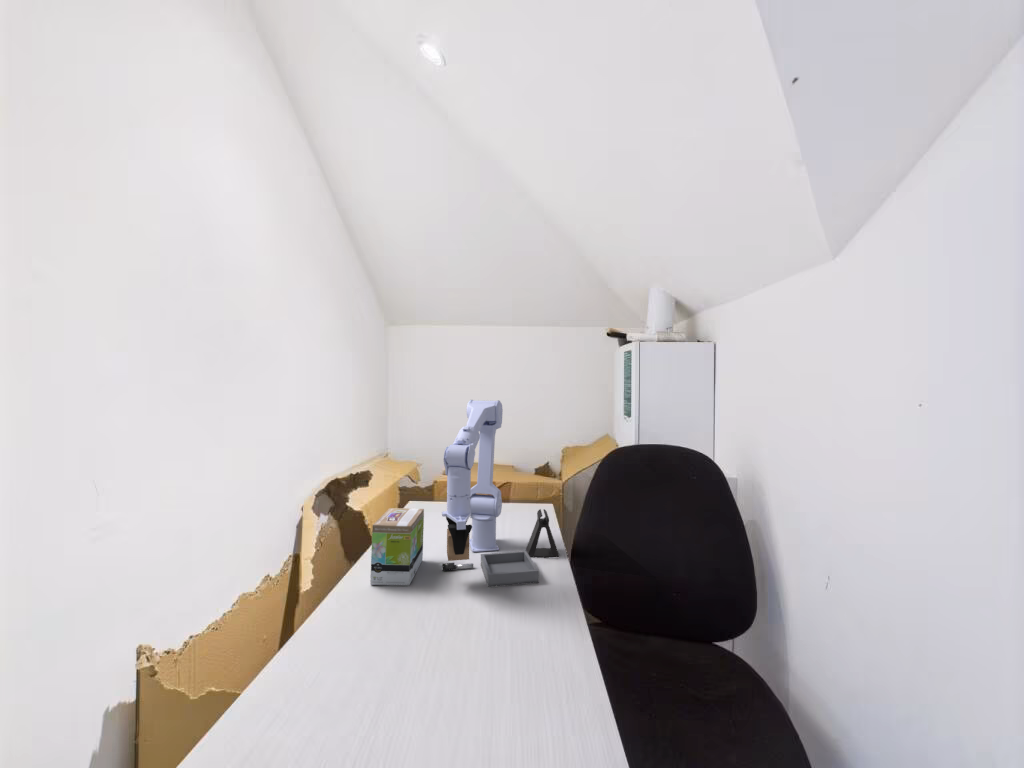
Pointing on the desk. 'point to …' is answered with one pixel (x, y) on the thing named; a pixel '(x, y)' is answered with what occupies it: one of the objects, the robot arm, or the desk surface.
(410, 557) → the tea box
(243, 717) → the desk surface
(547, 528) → the phone stand
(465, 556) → the block
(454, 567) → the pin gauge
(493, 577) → the tray
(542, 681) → the desk surface
